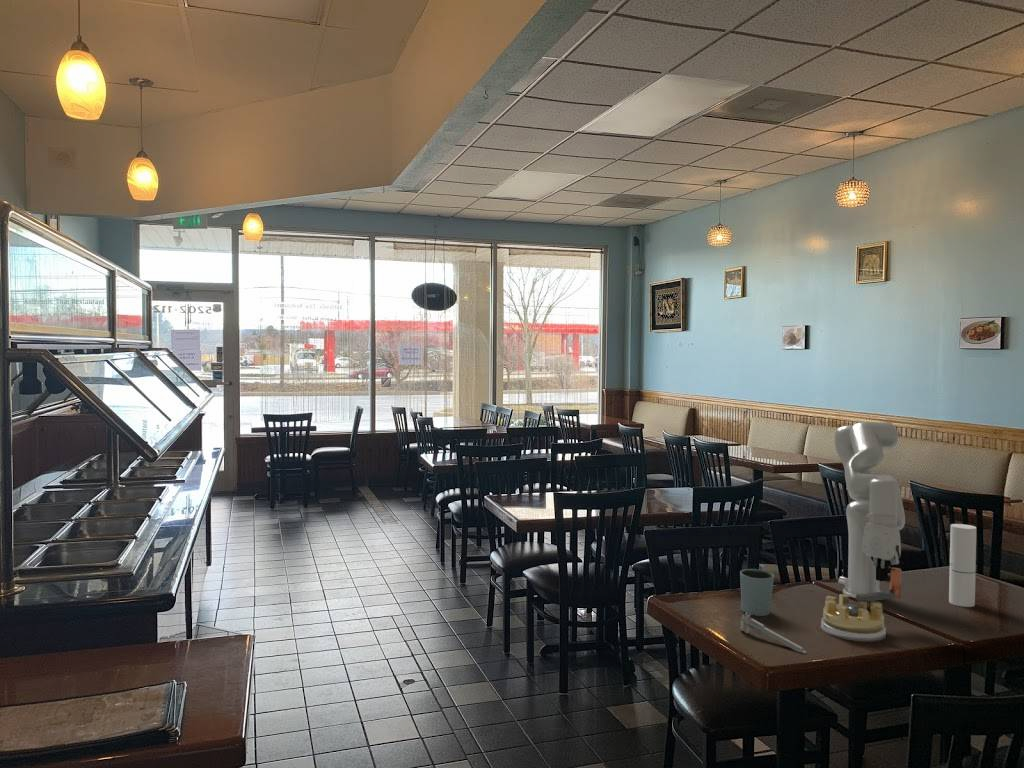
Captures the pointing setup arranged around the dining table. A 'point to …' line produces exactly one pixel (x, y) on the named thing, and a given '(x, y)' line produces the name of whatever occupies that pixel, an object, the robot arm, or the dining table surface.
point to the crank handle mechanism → (861, 608)
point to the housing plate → (853, 634)
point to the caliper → (766, 632)
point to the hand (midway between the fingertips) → (881, 580)
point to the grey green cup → (756, 591)
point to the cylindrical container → (962, 565)
